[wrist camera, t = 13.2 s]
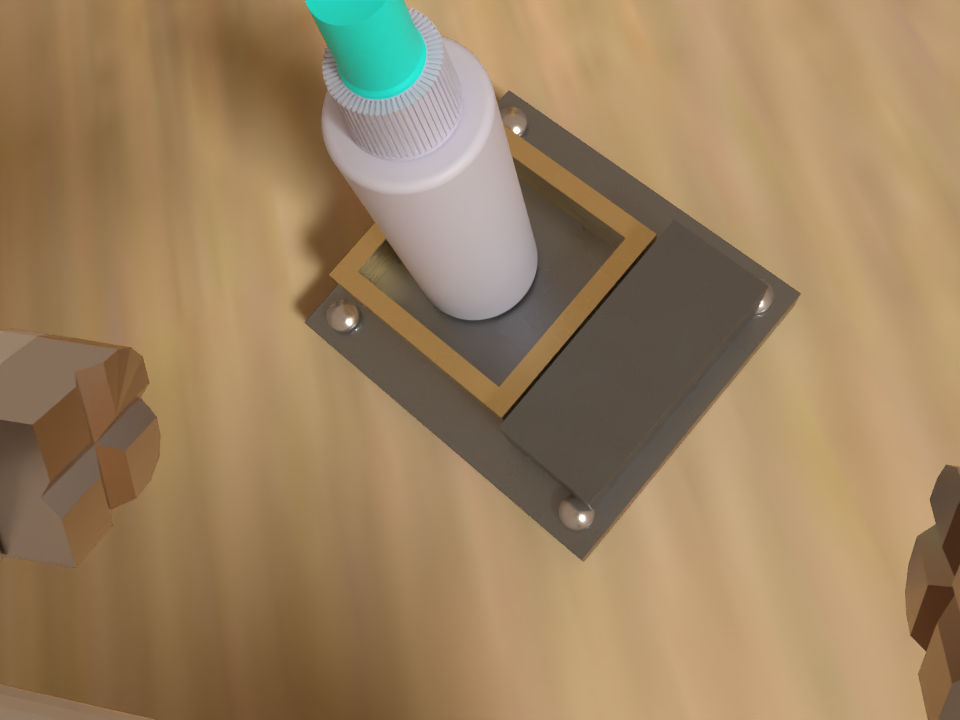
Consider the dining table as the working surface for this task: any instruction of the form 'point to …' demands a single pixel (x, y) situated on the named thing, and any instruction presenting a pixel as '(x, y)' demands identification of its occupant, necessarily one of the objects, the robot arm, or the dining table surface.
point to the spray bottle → (426, 154)
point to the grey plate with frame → (566, 337)
